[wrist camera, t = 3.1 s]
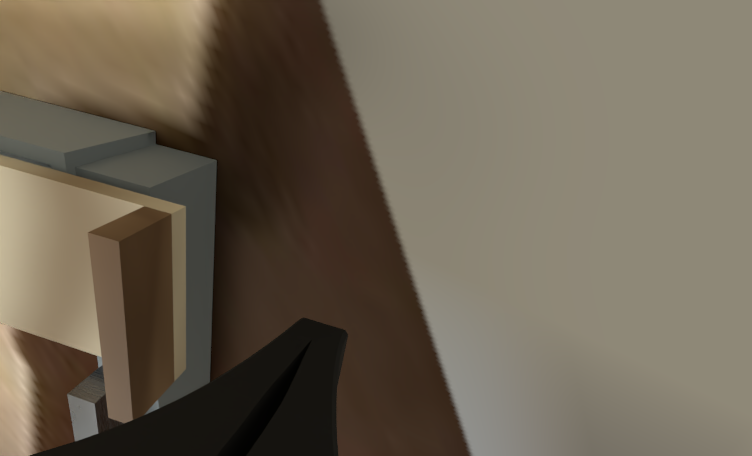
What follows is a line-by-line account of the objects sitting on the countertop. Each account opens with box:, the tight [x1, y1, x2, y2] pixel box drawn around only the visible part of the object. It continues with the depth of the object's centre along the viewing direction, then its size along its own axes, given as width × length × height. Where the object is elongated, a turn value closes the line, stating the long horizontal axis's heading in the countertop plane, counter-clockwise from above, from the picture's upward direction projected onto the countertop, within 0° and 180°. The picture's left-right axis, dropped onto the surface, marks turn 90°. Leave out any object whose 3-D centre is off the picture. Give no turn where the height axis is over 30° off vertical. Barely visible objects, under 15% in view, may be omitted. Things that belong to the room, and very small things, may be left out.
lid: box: [0, 155, 186, 423], centre depth 12 cm, size 8×6×2 cm
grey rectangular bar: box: [67, 365, 124, 441], centre depth 15 cm, size 1×5×2 cm, turn 168°
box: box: [0, 91, 217, 415], centre depth 17 cm, size 10×13×4 cm
